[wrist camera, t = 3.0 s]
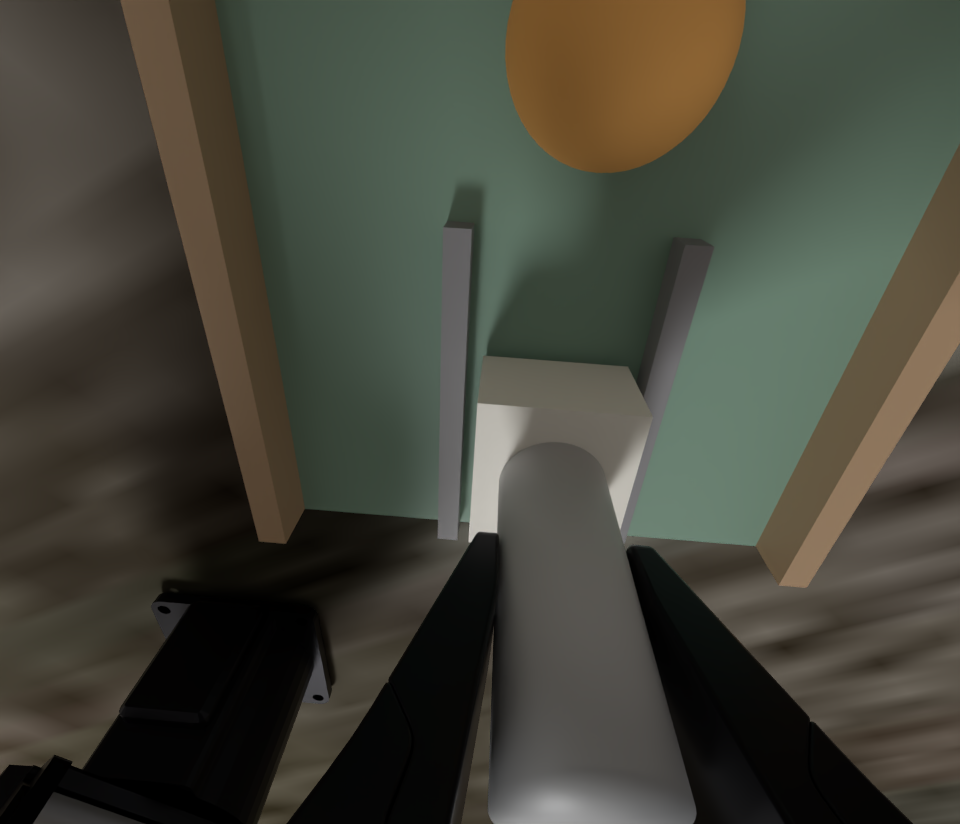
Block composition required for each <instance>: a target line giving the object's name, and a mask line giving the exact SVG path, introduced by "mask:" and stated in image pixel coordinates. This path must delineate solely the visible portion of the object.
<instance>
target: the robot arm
mask: <svg viewBox="0 0 960 824" xmlns="http://www.w3.org/2000/svg"><path fill="white" fill-rule="evenodd" d="M626 554H627V558H628V561H629V565H630V569H631V572H632V576H633V580H634V583H635V587H636V591H637V594H638V598H639V602H640V605H641V609H642V613H643V616H644V620H645V624H646V627H647V631H648V635H649V638H650V642H651V645H652V649H653V653H654V656H655V660H656V664H657V667H658V671H659V675H660V678H661V682H662V686H663V689H664V693H665V697H666V700H667V704H668V708H669V711H670V715H671V719H672V722H673V726H674V730H675V733H676V737H677V740H678V744H679V748H680V751H681V755H682V759H683V762H684V766H685V770H686V773H687V777H688V781H689V784H690V788H691V792H692V795H693V799H694V803H695V806H696V813H697V814H696V818H695V821H694V823H693V824H913V823H912V822H911V821H910V820H909V819H908V818H907V817H906V816H905V815H904V814H903V813H902V812H901V811H900V810H899V809H898V808H897V807H896V806H895V805H894V804H893V803H892V802H891V801H890V800H889V799H888V798H887V797H886V796H884V795H883V794H882V793H881V792H880V791H879V790H878V789H877V788H876V787H875V786H874V785H873V784H872V783H871V782H870V781H869V779H868V778H867V777H866V776H865V775H864V774H863V773H862V772H861V771H860V770H859V769H858V768H857V767H856V766H855V765H854V764H853V763H852V762H851V761H850V760H849V759H848V758H847V757H846V755H845V754H844V753H843V752H842V751H841V750H840V749H839V748H838V747H837V746H836V745H835V744H834V743H833V742H832V741H831V740H830V738H829V737H828V736H827V735H826V734H825V733H824V732H823V731H822V730H821V729H820V728H819V727H818V726H817V724H816V723H814V722H810V718H809V716H808V715H807V714H806V713H805V712H804V711H803V710H802V708H801V707H800V706H799V705H798V704H797V703H796V702H795V701H794V700H793V699H792V698H791V697H790V695H789V694H788V693H787V692H786V691H785V690H784V689H783V688H782V687H781V686H780V685H779V684H778V683H777V681H776V680H775V679H774V678H773V677H772V676H771V675H770V674H769V673H768V672H767V671H766V670H765V668H764V667H763V666H762V665H761V664H760V663H759V662H758V661H757V660H756V659H755V658H754V657H753V655H752V654H751V653H750V652H749V651H748V650H747V649H746V648H745V647H744V646H743V645H742V644H741V643H740V641H739V640H738V639H737V638H736V637H735V636H734V635H733V634H732V633H731V632H730V631H729V630H728V628H727V627H726V626H725V625H724V624H723V623H722V622H721V621H720V620H719V619H718V618H717V617H716V615H715V614H714V613H713V612H712V611H711V610H710V609H709V608H708V607H707V606H706V605H705V604H704V603H703V601H702V600H701V599H700V598H699V597H698V596H697V595H696V594H695V593H694V592H693V591H692V590H691V588H690V587H689V586H688V585H687V584H686V583H685V582H684V581H683V580H682V579H681V578H680V577H679V575H678V574H677V573H676V572H675V571H674V570H673V569H672V568H671V567H670V566H669V565H668V564H667V563H666V561H665V560H664V559H663V558H662V557H661V556H660V555H659V554H658V553H657V552H656V551H655V550H654V549H653V548H652V547H650V546H641V545H630V546H629V547H628V548H627V550H626ZM498 587H499V535H498V534H497V533H492V532H478V533H477V534H476V535H475V537H474V538H473V540H472V541H471V543H470V545H469V546H468V548H467V550H466V551H465V553H464V555H463V556H462V558H461V560H460V561H459V563H458V565H457V566H456V568H455V570H454V571H453V573H452V575H451V576H450V578H449V580H448V581H447V583H446V585H445V586H444V588H443V589H442V591H441V593H440V594H439V596H438V598H437V599H436V601H435V603H434V604H433V606H432V608H431V609H430V611H429V613H428V614H427V616H426V618H425V619H424V621H423V623H422V624H421V626H420V628H419V629H418V631H417V633H416V634H415V636H414V637H413V639H412V641H411V642H410V644H409V646H408V647H407V649H406V651H405V652H404V654H403V656H402V657H401V659H400V661H399V662H398V664H397V666H396V667H395V669H394V671H393V672H392V674H391V676H390V677H389V683H386V684H385V685H384V687H383V688H382V690H381V692H380V693H379V695H378V697H377V698H376V700H375V701H374V703H373V705H372V706H371V708H370V709H369V711H368V713H367V714H366V716H365V717H364V719H363V720H362V722H361V723H360V725H359V726H358V728H357V730H356V731H355V733H354V734H353V736H352V737H351V739H350V740H349V741H348V743H347V744H346V745H345V747H344V748H343V750H342V751H341V752H340V754H339V755H338V756H337V758H336V759H335V761H334V762H333V763H332V765H331V766H330V768H329V769H328V770H327V772H326V773H325V774H324V776H323V777H322V778H321V779H320V781H319V782H318V783H317V785H316V786H315V787H314V789H313V790H312V791H311V793H310V794H309V795H308V796H307V798H306V799H305V800H304V802H303V803H302V804H301V806H300V807H299V808H298V809H297V811H296V812H295V813H294V815H293V816H292V817H291V819H290V820H289V821H288V823H287V824H461V821H462V816H463V810H464V804H465V798H466V792H467V787H468V781H469V775H470V769H471V764H472V758H473V752H474V746H475V741H476V735H477V729H478V723H479V717H480V712H481V706H482V700H483V694H484V689H485V683H486V677H487V671H488V665H489V658H490V651H491V643H492V635H493V627H494V619H495V611H496V604H497V596H498ZM151 608H152V610H153V613H154V615H155V617H156V619H157V621H158V623H159V625H160V628H161V630H162V632H163V634H164V636H165V638H166V640H165V642H164V643H163V645H162V646H161V648H160V649H159V651H158V652H157V654H156V655H155V657H154V658H153V660H152V661H151V663H150V664H149V666H148V667H147V668H146V670H145V671H144V673H143V674H142V676H141V677H140V679H139V680H138V682H137V683H136V685H135V686H134V688H133V689H132V691H131V692H130V694H129V695H128V697H127V698H126V700H125V701H124V702H123V704H122V705H121V708H120V710H119V715H118V716H117V718H116V719H115V721H114V722H113V724H112V725H111V727H110V728H109V730H108V731H107V733H106V734H105V736H104V737H103V739H102V740H101V742H100V743H99V745H98V746H97V748H96V749H95V751H94V752H93V754H92V755H91V757H90V758H89V760H88V761H87V763H86V764H85V766H84V767H83V769H79V768H76V767H74V766H71V764H72V761H70V760H67V759H64V758H62V757H59V756H56V755H54V756H53V757H51V758H50V759H49V760H48V761H47V762H46V763H45V764H44V765H43V766H42V767H41V768H40V767H38V766H35V765H33V766H21V765H9V766H8V767H7V768H6V769H5V770H4V771H3V772H2V774H1V775H0V824H258V821H259V818H260V815H261V813H262V810H263V807H264V804H265V802H266V799H267V796H268V793H269V791H270V788H271V785H272V782H273V780H274V777H275V774H276V772H277V769H278V766H279V763H280V761H281V758H282V755H283V752H284V750H285V747H286V744H287V741H288V739H289V736H290V733H291V730H292V728H293V725H294V722H295V720H296V717H297V714H298V711H299V709H300V706H301V703H302V702H307V703H318V704H324V703H327V702H328V701H329V698H330V695H331V692H332V688H331V682H330V677H329V672H328V666H327V661H326V656H325V650H324V645H323V640H322V634H321V629H320V624H319V618H318V614H317V612H316V610H315V609H313V608H312V607H310V606H306V605H298V604H287V603H275V602H264V601H252V600H241V599H229V598H218V597H206V596H195V595H183V594H171V593H162V594H160V595H159V596H158V597H157V598H156V600H155V601H154V602H153V604H152V605H151Z"/></svg>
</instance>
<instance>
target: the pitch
mask: <svg viewBox="0 0 960 824" xmlns="http://www.w3.org/2000/svg"><path fill="white" fill-rule="evenodd" d="M120 1H121V5H122V9H123V13H124V17H125V21H126V24H127V28H128V32H129V36H130V40H131V44H132V48H133V52H134V56H135V60H136V63H137V67H138V71H139V75H140V79H141V83H142V87H143V91H144V95H145V99H146V102H147V106H148V110H149V114H150V118H151V122H152V126H153V130H154V134H155V138H156V141H157V145H158V149H159V153H160V157H161V161H162V165H163V169H164V173H165V177H166V180H167V184H168V188H169V192H170V196H171V200H172V204H173V208H174V212H175V216H176V219H177V223H178V227H179V231H180V235H181V239H182V243H183V247H184V251H185V255H186V258H187V262H188V266H189V270H190V274H191V278H192V282H193V286H194V290H195V294H196V297H197V301H198V305H199V309H200V313H201V317H202V321H203V325H204V329H205V333H206V336H207V340H208V344H209V348H210V352H211V356H212V360H213V364H214V368H215V372H216V375H217V379H218V383H219V387H220V391H221V395H222V399H223V403H224V407H225V411H226V414H227V418H228V422H229V426H230V430H231V434H232V438H233V442H234V446H235V450H236V453H237V457H238V461H239V465H240V469H241V473H242V477H243V481H244V485H245V489H246V492H247V496H248V500H249V504H250V508H251V512H252V516H253V520H254V524H255V528H256V531H257V535H258V539H259V542H271V543H283V544H286V543H287V541H288V539H289V537H290V535H291V533H292V532H293V530H294V528H295V526H296V524H297V522H298V521H299V519H300V517H301V515H302V513H303V511H304V510H305V509H315V510H327V511H339V512H351V513H363V514H375V515H387V516H399V517H411V518H423V519H435V520H438V539H449V540H457V538H458V531H459V523H460V522H470V511H471V495H472V480H473V464H474V448H475V433H476V417H477V402H478V394H479V386H480V378H481V369H482V361H483V356H496V357H509V358H522V359H535V360H548V361H561V362H574V363H587V364H600V365H613V366H627V367H628V368H629V370H630V372H631V374H632V376H633V378H634V380H635V382H636V384H637V386H638V388H639V390H640V392H641V394H642V396H643V398H644V400H645V402H646V404H647V406H648V408H649V410H650V412H651V414H652V416H653V419H652V422H651V426H650V429H649V433H648V436H647V440H646V443H645V447H644V450H643V453H642V457H641V460H640V464H639V467H638V471H637V474H636V477H635V481H634V484H633V488H632V491H631V495H630V498H629V501H628V505H627V508H626V512H625V515H624V519H623V522H622V526H621V529H620V532H621V536H622V540H623V543H625V540H626V537H627V535H628V536H640V537H652V538H664V539H676V540H688V541H700V542H712V543H724V544H736V545H748V546H756V548H757V549H758V551H759V553H760V554H761V556H762V558H763V560H764V561H765V563H766V565H767V566H768V568H769V570H770V571H771V573H772V575H773V577H774V578H775V580H776V582H777V583H778V585H781V586H792V587H804V588H807V586H808V585H809V583H810V581H811V580H812V578H813V577H814V575H815V573H816V572H817V570H818V569H819V567H820V565H821V564H822V562H823V561H824V559H825V557H826V556H827V554H828V553H829V551H830V549H831V548H832V546H833V545H834V543H835V542H836V540H837V538H838V537H839V535H840V534H841V532H842V530H843V529H844V527H845V526H846V524H847V522H848V521H849V519H850V518H851V516H852V514H853V513H854V511H855V510H856V508H857V506H858V505H859V503H860V502H861V500H862V498H863V497H864V495H865V494H866V492H867V490H868V489H869V487H870V486H871V484H872V482H873V481H874V479H875V478H876V476H877V474H878V473H879V471H880V470H881V468H882V466H883V465H884V463H885V462H886V460H887V458H888V457H889V455H890V454H891V452H892V450H893V449H894V447H895V446H896V444H897V442H898V441H899V439H900V438H901V436H902V434H903V433H904V431H905V430H906V428H907V426H908V425H909V423H910V422H911V420H912V418H913V417H914V415H915V414H916V412H917V410H918V409H919V407H920V406H921V404H922V402H923V401H924V399H925V398H926V396H927V394H928V393H929V391H930V390H931V388H932V386H933V385H934V383H935V382H936V380H937V378H938V377H939V375H940V374H941V372H942V370H943V369H944V367H945V366H946V364H947V362H948V361H949V359H950V358H951V356H952V355H953V353H954V351H955V350H956V348H957V347H958V345H959V343H960V0H746V11H745V20H744V29H743V34H742V38H741V43H740V47H739V51H738V54H737V57H736V60H735V63H734V66H733V68H732V71H731V73H730V75H729V77H728V80H727V82H726V84H725V87H724V88H723V90H722V92H721V94H720V95H719V97H718V99H717V101H716V103H715V104H714V105H713V107H712V108H711V110H710V111H709V113H708V114H707V115H706V117H705V118H704V119H703V120H702V122H701V123H700V124H699V125H698V126H697V127H696V128H695V130H694V131H693V132H692V133H690V134H689V135H688V136H687V137H686V138H685V139H684V140H683V141H682V142H681V143H679V144H678V145H677V146H675V147H674V148H673V149H671V150H670V151H669V152H667V153H666V154H664V155H662V156H661V157H659V158H657V159H656V160H654V161H652V162H650V163H647V164H645V165H643V166H640V167H637V168H634V169H631V170H627V171H621V172H615V173H594V172H587V171H582V170H579V169H575V168H572V167H570V166H568V165H566V164H563V163H561V162H559V161H558V160H556V159H555V158H553V157H552V156H550V155H549V154H548V153H547V152H545V151H544V150H543V149H542V148H541V147H540V146H539V145H538V144H537V143H536V142H535V140H534V139H533V138H532V137H531V136H530V134H529V133H528V131H527V130H526V128H525V126H524V125H523V123H522V122H521V119H520V117H519V115H518V113H517V111H516V109H515V106H514V103H513V100H512V97H511V94H510V89H509V84H508V79H507V72H506V61H505V45H506V33H507V24H508V19H509V14H510V10H511V6H512V2H513V0H120Z"/></svg>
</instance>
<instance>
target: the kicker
mask: <svg viewBox="0 0 960 824" xmlns="http://www.w3.org/2000/svg"><path fill="white" fill-rule="evenodd" d="M652 419H653V416H652V414H651V412H650V410H649V408H648V406H647V404H646V402H645V400H644V398H643V396H642V394H641V392H640V390H639V388H638V386H637V384H636V382H635V380H634V378H633V376H632V374H631V372H630V370H629V368H628V367H627V366H613V365H600V364H587V363H574V362H561V361H548V360H535V359H522V358H509V357H496V356H483V361H482V369H481V378H480V386H479V394H478V402H477V417H476V433H475V448H474V464H473V480H472V495H471V511H470V526H469V542H471V541H472V540H473V538H474V537H475V535H476V534H477V533H478V532H492V533H497V534H498V535H499V587H498V596H497V604H496V611H495V619H494V641H493V671H492V701H491V731H490V760H489V790H488V813H489V817H490V819H491V820H492V822H493V823H494V824H693V823H694V821H695V818H696V814H697V813H696V806H695V803H694V799H693V795H692V792H691V788H690V784H689V781H688V777H687V773H686V770H685V766H684V762H683V759H682V755H681V751H680V748H679V744H678V740H677V737H676V733H675V730H674V726H673V722H672V719H671V715H670V711H669V708H668V704H667V700H666V697H665V693H664V689H663V686H662V682H661V678H660V675H659V671H658V667H657V664H656V660H655V656H654V653H653V649H652V645H651V642H650V638H649V635H648V631H647V627H646V624H645V620H644V616H643V613H642V609H641V605H640V602H639V598H638V594H637V591H636V587H635V583H634V580H633V576H632V572H631V569H630V565H629V561H628V558H627V554H626V550H625V547H624V543H623V540H622V536H621V532H620V529H621V526H622V522H623V519H624V515H625V512H626V508H627V505H628V501H629V498H630V495H631V491H632V488H633V484H634V481H635V477H636V474H637V471H638V467H639V464H640V460H641V457H642V453H643V450H644V447H645V443H646V440H647V436H648V433H649V429H650V426H651V422H652Z"/></svg>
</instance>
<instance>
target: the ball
mask: <svg viewBox="0 0 960 824" xmlns="http://www.w3.org/2000/svg"><path fill="white" fill-rule="evenodd" d="M745 11H746V0H513V2H512V6H511V10H510V14H509V19H508V24H507V33H506V45H505V61H506V72H507V79H508V84H509V89H510V94H511V97H512V100H513V103H514V106H515V109H516V111H517V113H518V115H519V117H520V119H521V122H522V123H523V125H524V126H525V128H526V130H527V131H528V133H529V134H530V136H531V137H532V138H533V139H534V140H535V142H536V143H537V144H538V145H539V146H540V147H541V148H542V149H543V150H544V151H545V152H547V153H548V154H549V155H550V156H552V157H553V158H555V159H556V160H558V161H559V162H561V163H563V164H566V165H568V166H570V167H572V168H575V169H579V170H582V171H587V172H594V173H615V172H621V171H627V170H631V169H634V168H637V167H640V166H643V165H645V164H647V163H650V162H652V161H654V160H656V159H657V158H659V157H661V156H662V155H664V154H666V153H667V152H669V151H670V150H671V149H673V148H674V147H675V146H677V145H678V144H679V143H681V142H682V141H683V140H684V139H685V138H686V137H687V136H688V135H689V134H690V133H692V132H693V131H694V130H695V128H696V127H697V126H698V125H699V124H700V123H701V122H702V120H703V119H704V118H705V117H706V115H707V114H708V113H709V111H710V110H711V108H712V107H713V105H714V104H715V103H716V101H717V99H718V97H719V95H720V94H721V92H722V90H723V88H724V87H725V84H726V82H727V80H728V77H729V75H730V73H731V71H732V68H733V66H734V63H735V60H736V57H737V54H738V51H739V47H740V43H741V38H742V34H743V29H744V20H745Z"/></svg>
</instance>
